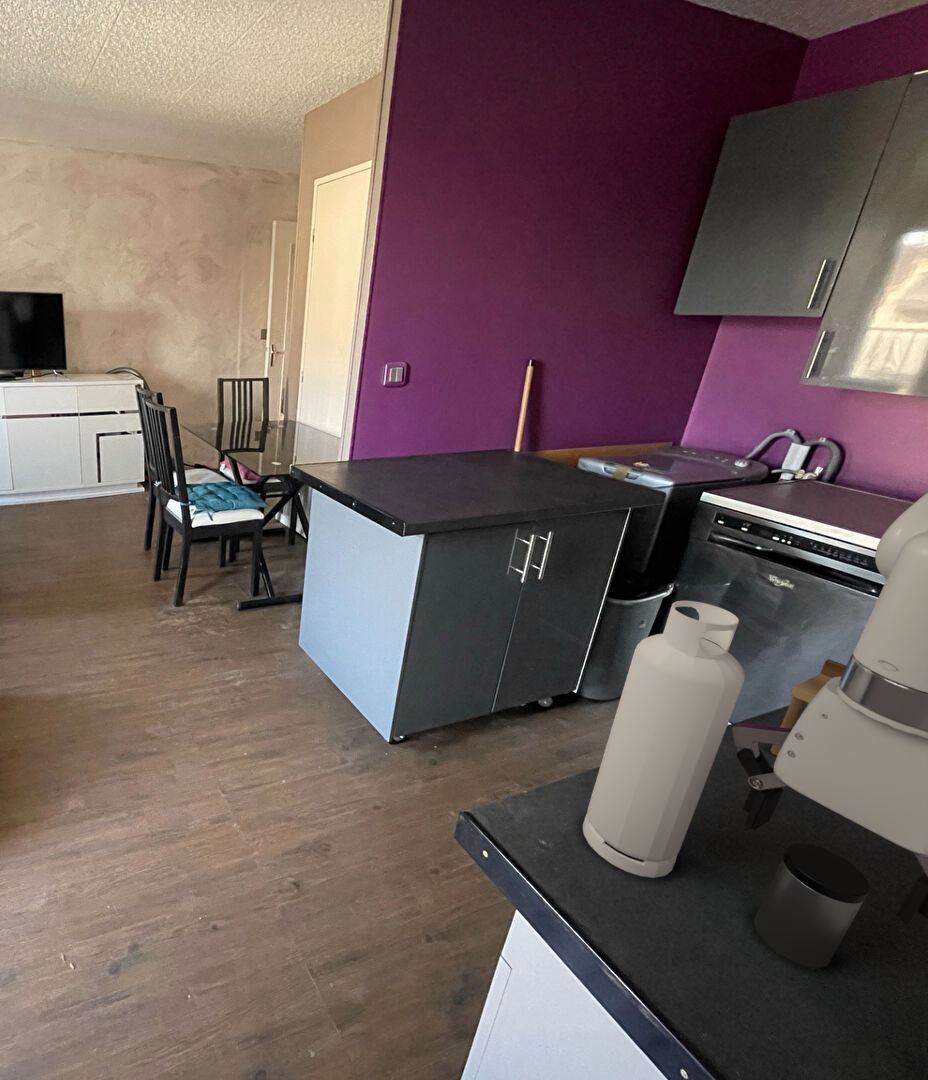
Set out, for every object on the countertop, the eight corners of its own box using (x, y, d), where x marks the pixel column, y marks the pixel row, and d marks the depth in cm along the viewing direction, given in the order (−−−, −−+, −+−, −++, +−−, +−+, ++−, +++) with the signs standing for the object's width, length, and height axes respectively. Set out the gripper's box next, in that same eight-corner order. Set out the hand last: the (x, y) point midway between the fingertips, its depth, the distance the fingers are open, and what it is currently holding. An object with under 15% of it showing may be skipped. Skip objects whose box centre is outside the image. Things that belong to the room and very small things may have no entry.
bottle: (636, 813, 66) (711, 592, 56) (693, 877, 58) (791, 634, 48) (566, 815, 66) (629, 593, 56) (614, 879, 58) (696, 635, 48)
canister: (769, 904, 56) (803, 834, 52) (841, 953, 51) (882, 880, 48) (741, 927, 54) (774, 855, 50) (813, 980, 49) (855, 905, 46)
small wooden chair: (794, 734, 78) (828, 658, 74) (862, 766, 73) (902, 686, 69) (766, 752, 75) (799, 673, 71) (834, 786, 70) (874, 703, 66)
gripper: (1134, 754, 37) (1003, 937, 43) (790, 632, 52) (728, 782, 58) (1103, 791, 34) (967, 983, 40) (747, 650, 49) (686, 807, 55)
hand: (826, 864), depth 49 cm, fingers open, 9 cm apart
